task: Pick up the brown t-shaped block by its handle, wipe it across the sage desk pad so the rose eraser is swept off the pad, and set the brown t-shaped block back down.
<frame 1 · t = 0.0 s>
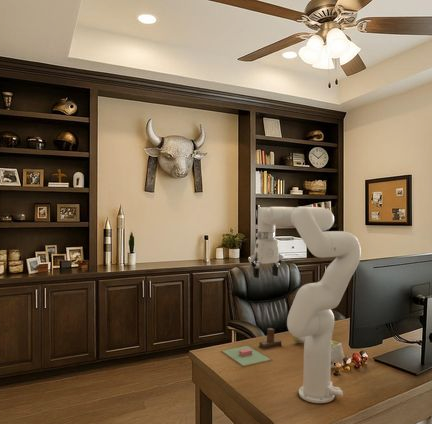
hand: (265, 276, 165), 37 cm above the table, tool pointing down, fingers open, 9 cm apart
desk pad: (245, 355, 174), on the table
eraser: (245, 354, 174), resting on desk pad
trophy: (316, 352, 181), on the table
brown t-shaped block: (270, 346, 187), on the table
arrowhead: (336, 368, 163), on the table
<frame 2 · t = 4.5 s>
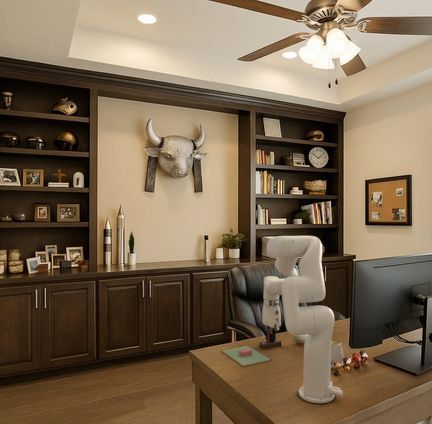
hand: (270, 340, 187), 3 cm above the table, tool pointing down, fingers closed on brown t-shaped block, 2 cm apart
brown t-shaped block: (270, 346, 187), on the table, touching gripper
everything else where it was.
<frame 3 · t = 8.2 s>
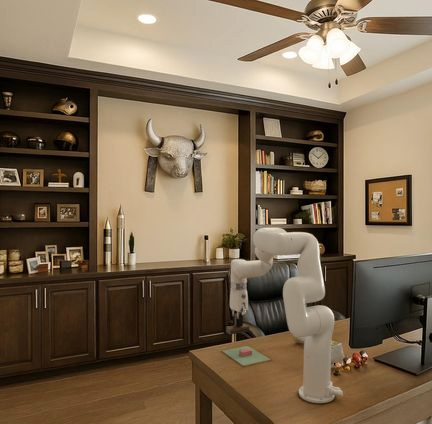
hand: (237, 325, 181), 12 cm above the table, tool pointing down, fingers closed on brown t-shaped block, 2 cm apart
brown t-shaped block: (237, 331, 181), point 9 cm above the table, touching gripper
everything else where it was.
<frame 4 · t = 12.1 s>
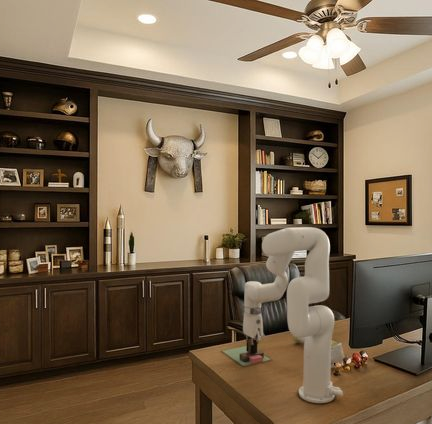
hand: (251, 351, 170), 3 cm above the table, tool pointing down, fingers closed on brown t-shaped block, 2 cm apart
eraser: (255, 361, 167), resting on desk pad
brown t-shaped block: (251, 358, 170), on the table, touching gripper
everything else where it was.
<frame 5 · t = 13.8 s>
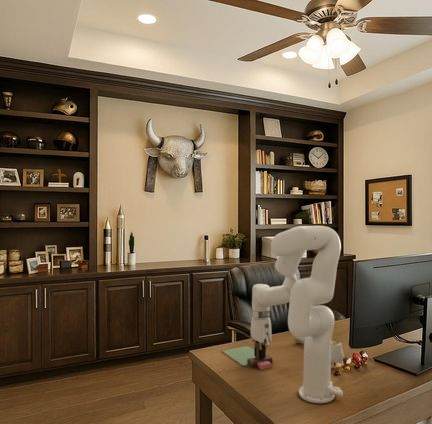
hand: (259, 356, 164), 3 cm above the table, tool pointing down, fingers closed on brown t-shaped block, 2 cm apart
eraser: (264, 367, 161), on the table, touching brown t-shaped block
brown t-shaped block: (259, 364, 164), on the table, touching eraser, gripper
everything else where it was.
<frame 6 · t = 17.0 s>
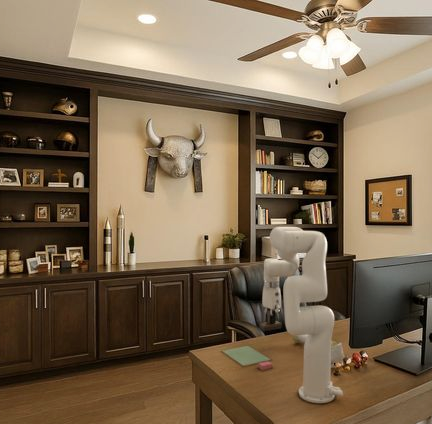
hand: (270, 322, 187), 12 cm above the table, tool pointing down, fingers closed on brown t-shaped block, 2 cm apart
eraser: (265, 368, 161), on the table
brown t-shaped block: (270, 328, 187), point 9 cm above the table, touching gripper
everything else where it was.
when the fingers open (3 cm above the table, at t = 19.3 s): brown t-shaped block stays where it is, on the table.
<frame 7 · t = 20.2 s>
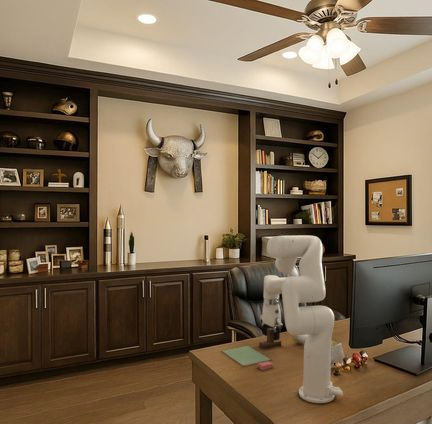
hand: (270, 336, 187), 5 cm above the table, tool pointing down, fingers open, 9 cm apart
brown t-shaped block: (270, 346, 187), on the table
everything else where it was.
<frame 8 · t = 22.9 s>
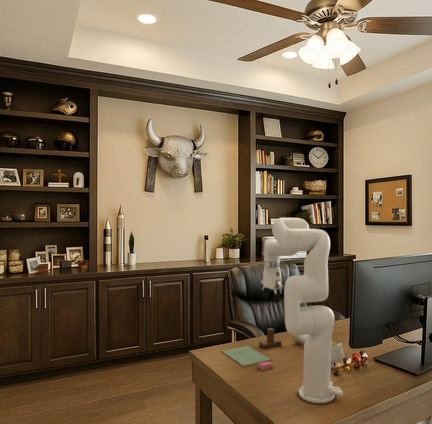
hand: (271, 300, 187), 22 cm above the table, tool pointing down, fingers open, 9 cm apart
nothing on the table moved.
at the end: eraser on the table; eraser moved 16.0 cm from its start; the gripper is holding nothing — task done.
